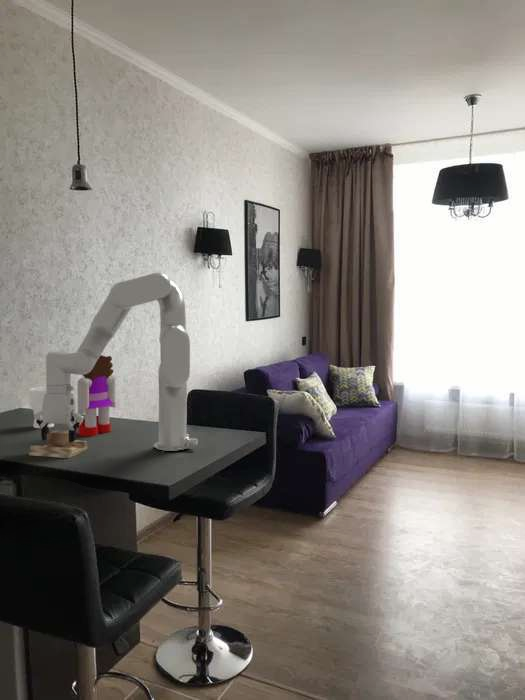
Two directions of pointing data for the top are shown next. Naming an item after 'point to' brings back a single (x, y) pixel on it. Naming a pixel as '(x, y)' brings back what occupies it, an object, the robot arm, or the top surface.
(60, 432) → the walnut block
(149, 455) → the top surface
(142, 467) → the top surface
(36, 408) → the cup
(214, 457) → the top surface
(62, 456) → the board
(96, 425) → the toy
